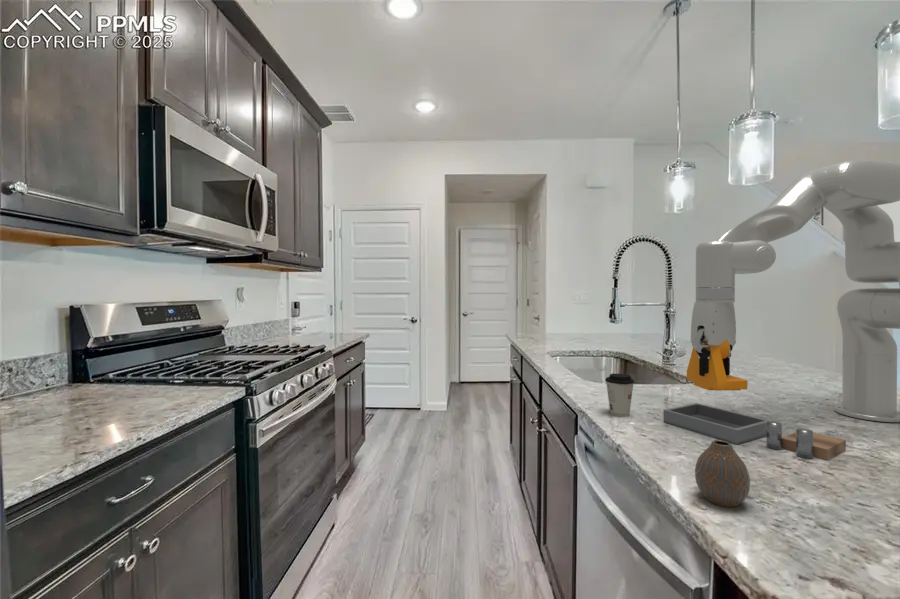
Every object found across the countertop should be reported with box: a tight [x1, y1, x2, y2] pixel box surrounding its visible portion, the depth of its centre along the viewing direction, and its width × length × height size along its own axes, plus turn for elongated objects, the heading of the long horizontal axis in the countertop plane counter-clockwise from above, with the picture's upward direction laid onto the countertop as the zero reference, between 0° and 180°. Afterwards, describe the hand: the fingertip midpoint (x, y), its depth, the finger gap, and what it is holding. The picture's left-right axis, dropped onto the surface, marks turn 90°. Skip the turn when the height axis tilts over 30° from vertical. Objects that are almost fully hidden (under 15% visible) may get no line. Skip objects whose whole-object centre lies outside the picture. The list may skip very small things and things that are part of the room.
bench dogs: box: [766, 420, 814, 460], centre depth 80 cm, size 2×7×5 cm, turn 26°
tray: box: [663, 402, 770, 446], centre depth 94 cm, size 13×17×3 cm
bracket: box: [686, 340, 749, 391], centre depth 94 cm, size 11×7×12 cm, turn 2°
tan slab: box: [781, 432, 847, 461], centre depth 81 cm, size 9×7×2 cm
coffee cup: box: [604, 373, 635, 418], centre depth 105 cm, size 7×7×10 cm
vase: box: [694, 439, 751, 508], centre depth 62 cm, size 7×7×9 cm
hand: (714, 374), depth 94 cm, fingers closed on bracket, 4 cm apart
